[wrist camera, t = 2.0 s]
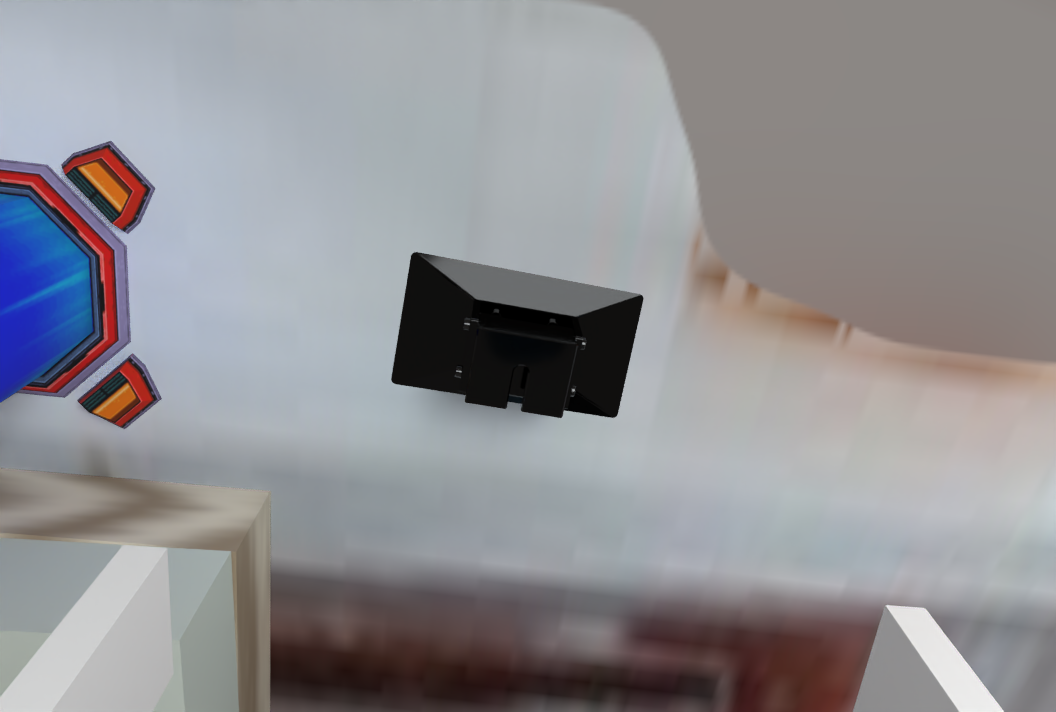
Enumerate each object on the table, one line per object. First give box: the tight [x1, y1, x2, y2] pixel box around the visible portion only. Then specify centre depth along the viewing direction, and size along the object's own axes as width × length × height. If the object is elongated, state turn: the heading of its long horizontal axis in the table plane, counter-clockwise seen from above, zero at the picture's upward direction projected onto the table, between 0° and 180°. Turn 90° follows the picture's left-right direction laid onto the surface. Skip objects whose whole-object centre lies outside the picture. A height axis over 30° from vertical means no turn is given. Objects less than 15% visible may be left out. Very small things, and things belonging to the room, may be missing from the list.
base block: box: [0, 468, 271, 712], centre depth 35 cm, size 12×15×5 cm
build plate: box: [391, 252, 643, 418], centre depth 31 cm, size 12×7×5 cm, turn 79°
